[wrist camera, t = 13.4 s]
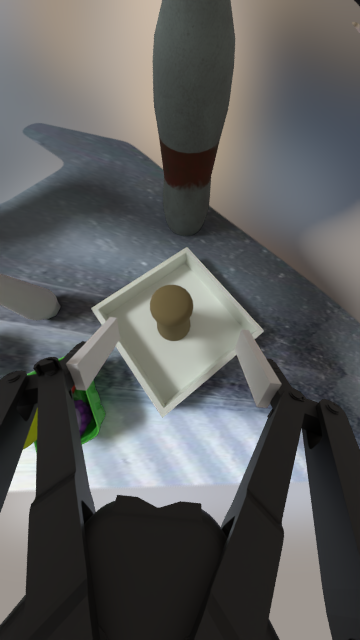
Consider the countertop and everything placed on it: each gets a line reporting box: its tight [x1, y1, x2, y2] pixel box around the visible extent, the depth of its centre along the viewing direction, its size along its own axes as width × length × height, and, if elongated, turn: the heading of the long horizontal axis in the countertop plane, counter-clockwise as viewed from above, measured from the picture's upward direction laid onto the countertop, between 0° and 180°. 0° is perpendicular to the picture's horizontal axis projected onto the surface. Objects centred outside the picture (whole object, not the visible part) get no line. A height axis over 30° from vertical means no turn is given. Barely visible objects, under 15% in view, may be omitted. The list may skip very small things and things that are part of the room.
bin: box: [91, 247, 264, 418], centre depth 26 cm, size 20×20×4 cm
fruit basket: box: [23, 356, 105, 452], centre depth 19 cm, size 11×9×11 cm
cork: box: [150, 285, 193, 341], centre depth 22 cm, size 6×6×11 cm
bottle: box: [153, 0, 235, 236], centre depth 20 cm, size 9×9×30 cm
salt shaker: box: [0, 274, 61, 321], centre depth 22 cm, size 6×6×13 cm
